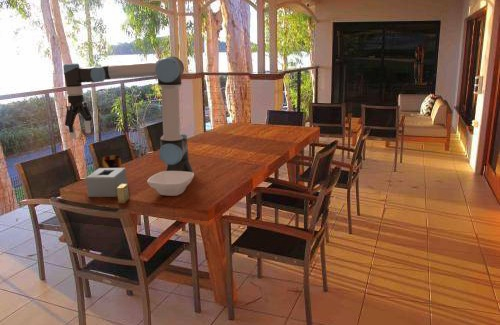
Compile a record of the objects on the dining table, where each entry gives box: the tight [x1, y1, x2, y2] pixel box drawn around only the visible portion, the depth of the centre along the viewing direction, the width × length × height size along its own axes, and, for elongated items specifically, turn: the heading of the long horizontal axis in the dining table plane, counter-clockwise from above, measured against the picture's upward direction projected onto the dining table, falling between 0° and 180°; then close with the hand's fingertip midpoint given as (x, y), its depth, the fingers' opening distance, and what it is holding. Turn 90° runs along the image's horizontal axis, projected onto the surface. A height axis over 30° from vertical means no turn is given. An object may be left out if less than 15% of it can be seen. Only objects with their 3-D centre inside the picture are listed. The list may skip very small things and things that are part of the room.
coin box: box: [85, 167, 128, 198], centre depth 222 cm, size 14×16×10 cm
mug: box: [101, 154, 123, 168], centre depth 242 cm, size 10×14×12 cm
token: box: [117, 183, 130, 204], centre depth 207 cm, size 3×6×8 cm, turn 176°
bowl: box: [146, 170, 195, 197], centre depth 215 cm, size 21×21×9 cm
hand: (81, 135), depth 229 cm, fingers open, 13 cm apart
